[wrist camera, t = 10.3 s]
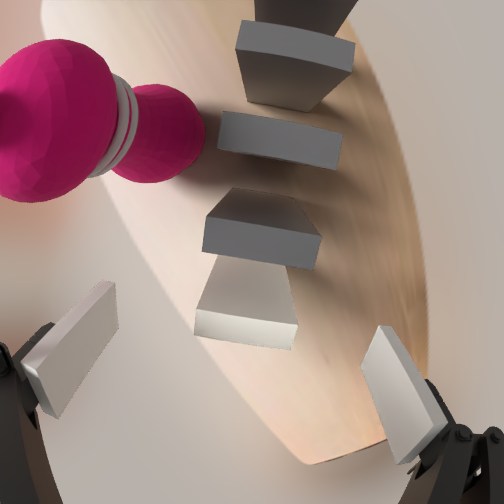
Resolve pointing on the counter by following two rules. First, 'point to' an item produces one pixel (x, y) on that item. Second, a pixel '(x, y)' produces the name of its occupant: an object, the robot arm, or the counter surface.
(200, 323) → the white domino
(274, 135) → the domino
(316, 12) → the domino
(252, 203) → the domino
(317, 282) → the counter surface
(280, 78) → the domino
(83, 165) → the pepper mill
